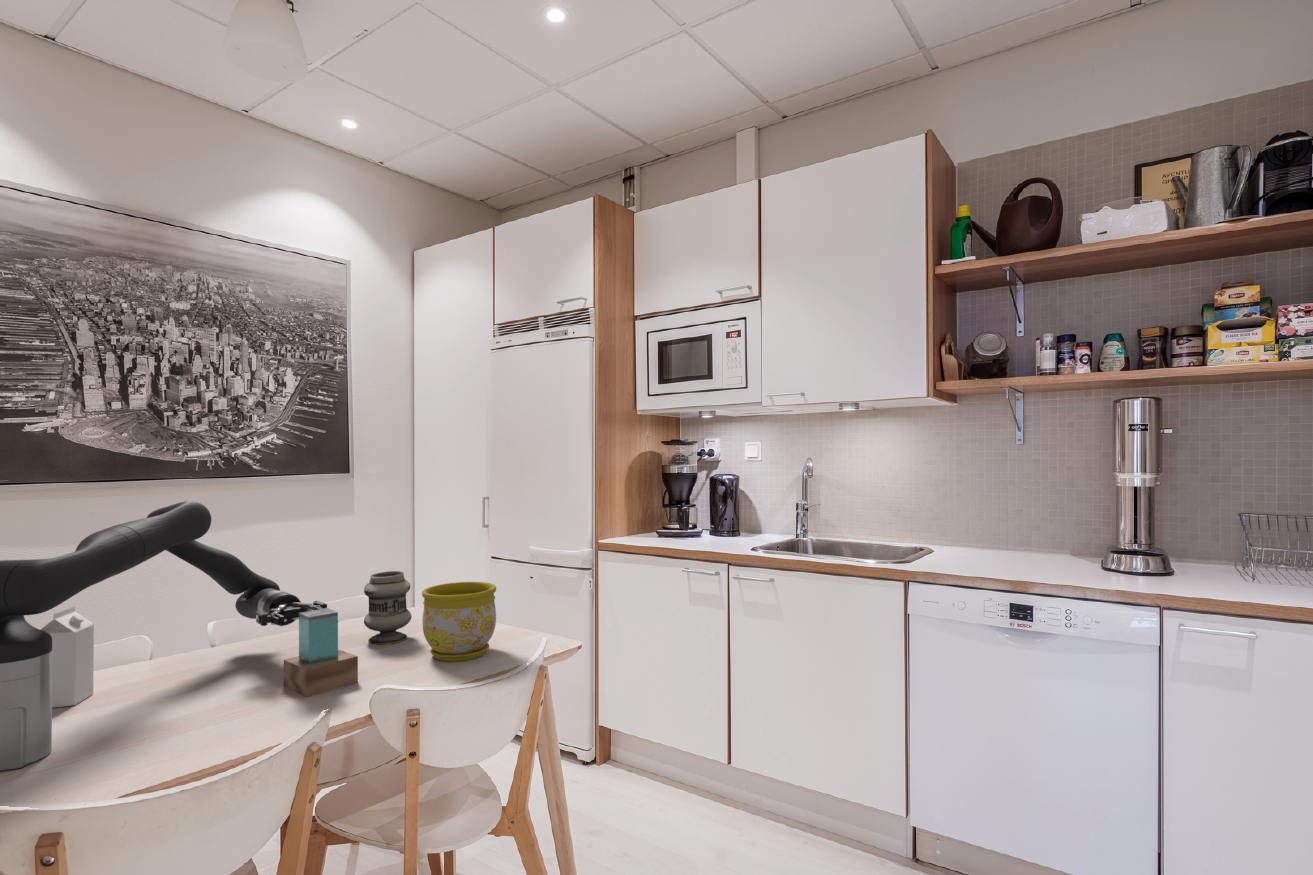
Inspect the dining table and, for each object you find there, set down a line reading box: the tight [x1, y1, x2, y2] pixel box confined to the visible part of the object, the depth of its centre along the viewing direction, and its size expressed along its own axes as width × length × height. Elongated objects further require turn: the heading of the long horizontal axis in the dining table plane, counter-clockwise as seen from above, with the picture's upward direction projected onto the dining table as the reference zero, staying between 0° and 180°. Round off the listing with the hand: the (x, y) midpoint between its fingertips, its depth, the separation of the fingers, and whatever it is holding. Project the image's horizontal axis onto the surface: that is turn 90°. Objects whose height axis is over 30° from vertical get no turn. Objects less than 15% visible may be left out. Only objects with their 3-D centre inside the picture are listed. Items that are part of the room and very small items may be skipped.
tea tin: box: [298, 607, 339, 664], centre depth 146 cm, size 6×6×10 cm
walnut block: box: [283, 648, 359, 698], centre depth 146 cm, size 11×11×6 cm
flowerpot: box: [421, 581, 497, 662], centre depth 167 cm, size 18×18×16 cm
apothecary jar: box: [363, 570, 412, 646], centre depth 181 cm, size 12×12×18 cm
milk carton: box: [39, 606, 95, 709], centre depth 137 cm, size 7×7×19 cm
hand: (303, 617), depth 152 cm, fingers open, 8 cm apart
